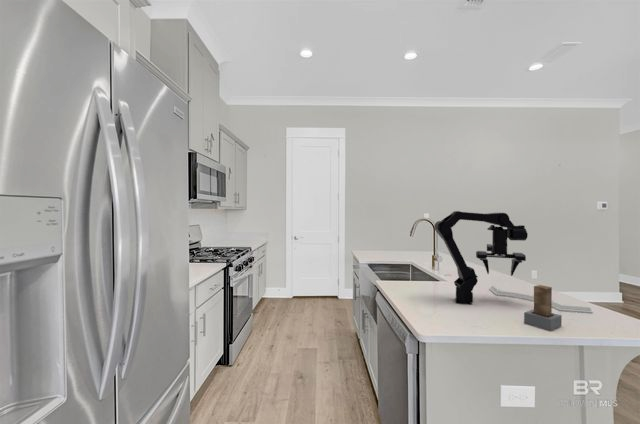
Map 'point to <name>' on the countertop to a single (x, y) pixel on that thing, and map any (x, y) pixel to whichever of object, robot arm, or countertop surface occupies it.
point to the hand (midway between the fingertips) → (499, 274)
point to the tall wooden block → (543, 300)
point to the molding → (531, 298)
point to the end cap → (543, 320)
